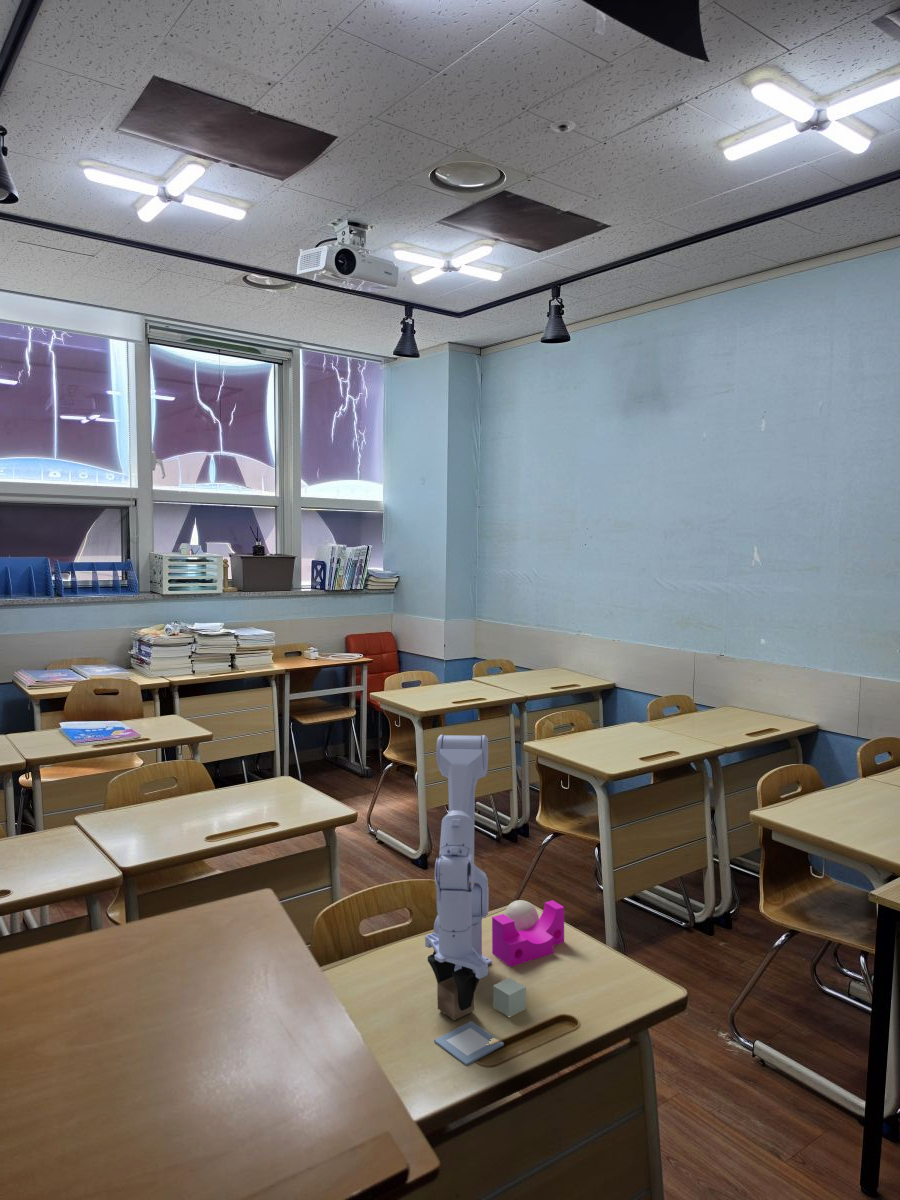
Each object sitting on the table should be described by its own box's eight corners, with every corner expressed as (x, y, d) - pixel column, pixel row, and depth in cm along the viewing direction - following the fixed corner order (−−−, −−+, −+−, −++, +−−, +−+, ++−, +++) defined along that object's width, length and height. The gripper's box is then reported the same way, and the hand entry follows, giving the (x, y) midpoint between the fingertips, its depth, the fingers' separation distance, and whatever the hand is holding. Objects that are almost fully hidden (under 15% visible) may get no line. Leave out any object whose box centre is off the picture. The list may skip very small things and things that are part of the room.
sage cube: (493, 1007, 138) (493, 985, 138) (509, 999, 140) (509, 977, 140) (509, 1018, 135) (509, 995, 135) (525, 1009, 137) (525, 986, 137)
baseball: (523, 945, 160) (523, 913, 159) (498, 932, 165) (498, 901, 165) (546, 934, 164) (546, 903, 164) (521, 922, 170) (520, 892, 169)
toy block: (510, 967, 151) (509, 929, 151) (492, 953, 157) (492, 917, 156) (571, 948, 159) (571, 911, 158) (552, 935, 164) (552, 900, 164)
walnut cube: (437, 1008, 137) (437, 983, 136) (457, 999, 140) (457, 974, 139) (454, 1020, 133) (454, 994, 133) (474, 1010, 136) (474, 985, 136)
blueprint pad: (434, 1041, 128) (434, 1039, 128) (471, 1022, 133) (471, 1021, 133) (466, 1065, 122) (466, 1063, 122) (503, 1045, 127) (503, 1043, 127)
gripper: (411, 916, 139) (412, 991, 139) (465, 948, 127) (465, 1029, 128) (442, 905, 143) (443, 977, 144) (497, 934, 132) (497, 1013, 133)
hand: (455, 1001), depth 136 cm, fingers closed on walnut cube, 4 cm apart
